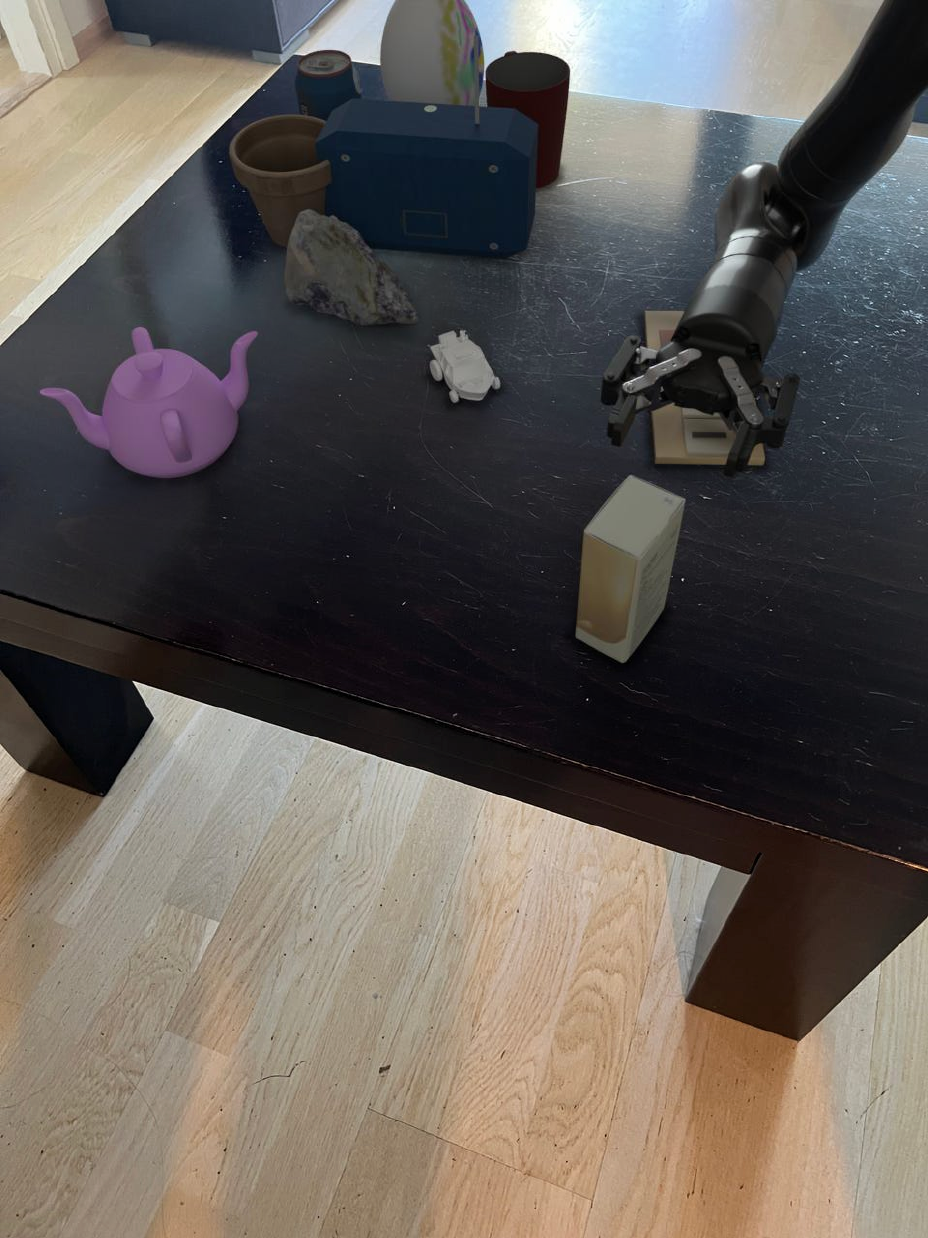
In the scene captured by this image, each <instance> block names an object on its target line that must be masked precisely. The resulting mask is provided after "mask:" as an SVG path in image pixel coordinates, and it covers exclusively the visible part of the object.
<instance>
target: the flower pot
mask: <svg viewBox="0 0 928 1238" xmlns="http://www.w3.org/2000/svg"><path fill="white" fill-rule="evenodd" d="M325 123H326V121H324V120H321V119H319V118H315V117H311V116H305V115H300V114H281V115H280V114H279V115H273V116H268V117H264V118H261V119H258V120H256V121H254V122H252V123H250V124H248V125H246V126H245V127H244V128H242V129H241V130H239V131H238V132H237V133H236V134H235V135H234V137H233V138H232V140H231V142H230V144H229V147H228V154H229V159H230V162H231V166H232V171H233V174H234V176H235V178H236V180H237V182H238V183H240V184H241V185H242V186H243V187H244V188H246V189H247V190H248V192H249V195H250V197H251V199H252V201H253V203H254V206H255V208H256V210H257V212H258V215H259V218H260V219H261V221H262V223H263V226H264V228H265V229H266V231H267V234H268V235H269V237H270V239H271V240H272V241H273V242H274V244H276V245H278V246H279V247H283V248H285V249H287V247H288V242H289V238H290V235H291V232H292V229H293V227H294V225H295V221H296V219H297V217H298V215H299V212H302V211H305V210H308V209H310V210H313V211H315V212H317V213H319V214H320V215H324V216H326V214H325V194H326V186H327V185H329V184H330V183H331V169H330V162H329V161H328V160H325V161H323V162H321V163H319V164H318V160H317V153H316V146H315V142H316V140H317V138H318V137H319V135H320V133H321V131H322V129H323V127H324V125H325Z"/></svg>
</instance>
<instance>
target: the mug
mask: <svg viewBox="0 0 928 1238" xmlns="http://www.w3.org/2000/svg"><path fill="white" fill-rule="evenodd" d="M484 78H485V93H486V94H485V96H486V107H497V108H513V109H516V110H518V111H519V112H521V113H522V114H524V115H525V116H527V117H528V118H530V119H531V120H533V121H534V122H536V123H537V124H538V145H537V172H536V189H541V188H543V187H546V186H548V185H550V184H552V183H554V182H555V181H556V180H557V178H558V177H559V174H560V168H561V160H562V153H563V147H564V146H563V145H564V139H565V138H564V137H565V129H566V123H567V121H566V120H567V113H568V105H569V96H570V95H569V94H570V83H571V68H570V66H569V64H568V63H567V62H566V60H564V59H562V58H561V57H558V56H557V55H553V54H550V53H546V52H540V51H539V52H538V51H537V52H536V51H522V52H517V51H516V50H511V51H510V50H509V51H506V52H505V53H504V55H502V56H500V57H498V58H496V59H494V60H493V61H491V62H490V63H489V64H488V65H487V66H486V68H485V70H484Z"/></svg>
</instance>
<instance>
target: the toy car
mask: <svg viewBox="0 0 928 1238" xmlns="http://www.w3.org/2000/svg"><path fill="white" fill-rule="evenodd" d="M459 334H460V335H459V336H457V333H456V332H455V331H454V330H451V331H448V332H444V333H442V334H439V335H437V337H438V343H437V344H433V345H431V346H429V348H430V350H431V352H432V355H433V356H434V359H432V360H431V361H430V362H429V369H430V373H431V376H432V377H433V379H434V381H437V382H441V381H442V380H443V378H444V381H445V383H446V385H447V386H448V388H449V389H450V391H449V392H448V394H449V398H450V400H451V402H452V403H453V404H456V403H458V402H459V401H460V400H459V398H461V399H465V400H470V401H482V400H484V398H485V396H486V395H487V394H488V391H489V389H490V388H491V387H492V389H493V390H500V388H501V382H500V378H499V377H498V376H495V374H494V371H493V369H492V367H491V366H490V364H489V362H488V361H487V359H486V357H485V354H484V352H483V349H482V348H481V347H480V346H479V345H477V344H475V343H474V341H472V340H470V339H469V335H468V334H466V332H465V331H464V330H463V329H461V330H460V331H459Z"/></svg>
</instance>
